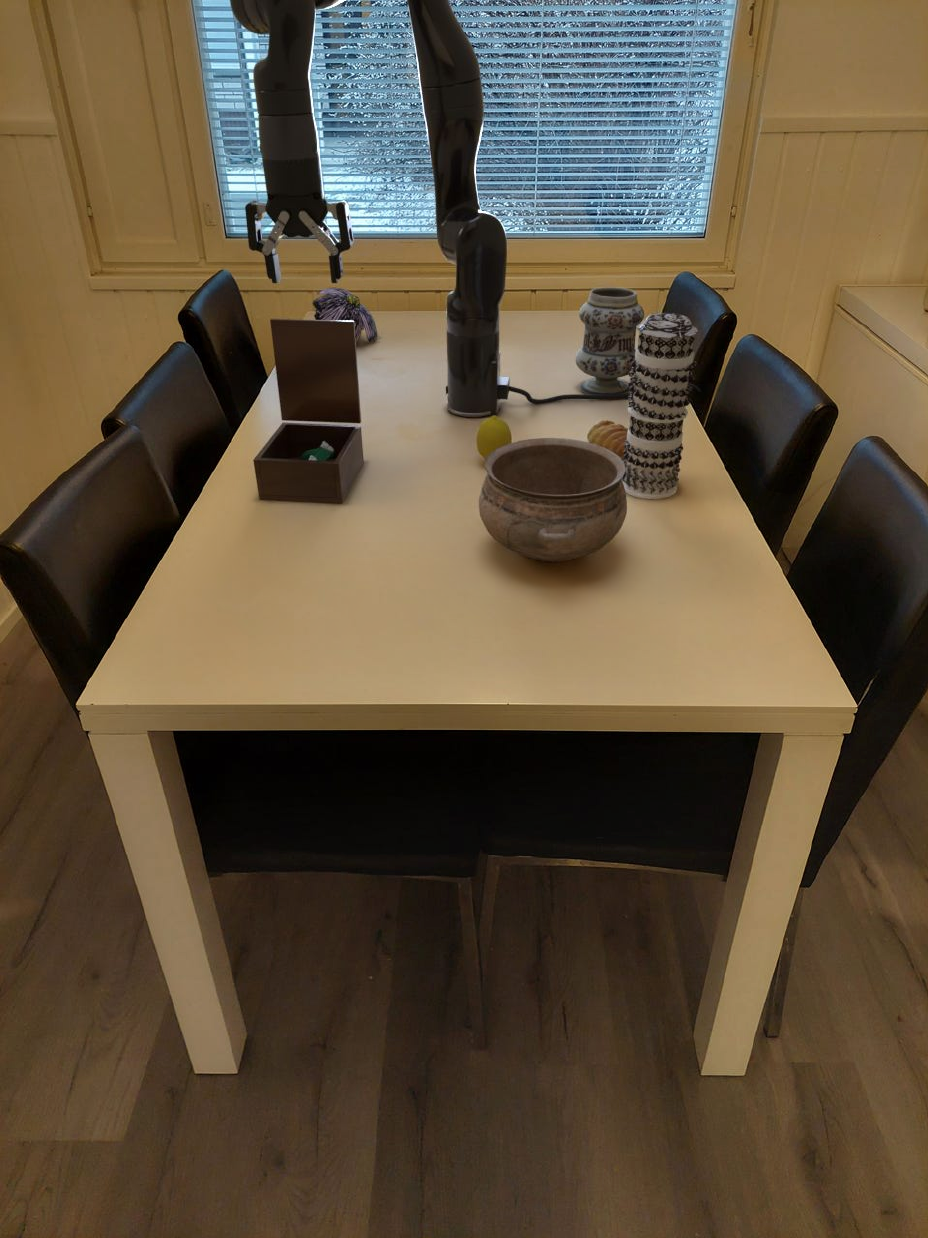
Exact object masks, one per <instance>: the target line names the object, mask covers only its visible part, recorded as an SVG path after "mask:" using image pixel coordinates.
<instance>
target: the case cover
mask: <svg viewBox="0 0 928 1238" xmlns="http://www.w3.org/2000/svg"><path fill="white" fill-rule="evenodd" d="M269 323H270V331H271V339H272V348H273V355H274V357H273V358H274V365H275V373H276V382H277V392H278V398H279V399H278V400H279V408H280V417H281V421H284V422H285V421H287V422H310V423H312V422H313V423H335V424H337V423H338V424H361V423H362V413H361V399H360V398H361V397H360V384H359V383H360V382H359V369H358V355H357V354H358V353H357V343H356V337H355V323H354V321H341V320H316V319H300V318H299V319H297V318H291V319H290V318H270V320H269Z"/></svg>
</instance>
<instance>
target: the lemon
mask: <svg viewBox="0 0 928 1238" xmlns="http://www.w3.org/2000/svg"><path fill="white" fill-rule="evenodd" d="M476 432H477V433H476V439H475V440H476V441H475V442H476V449H477V451H478V454H479V455H480V456H481V457H482V458H483V459H484V460H485V461H486V458H487V457H488V456H489V454H491V453H492V452H493V451H494V450H496V449H498V448H500V447H502V446H504V445H507V444H510V443H513V442H512V441H513V437H512V431H511V427H510V426H509V424H508V423H507V421H506V420H504V419H502V417H498V416H497V415H491V417H488V418H486V419H484V420H483V421H482V422H481V423H480V424H479V427H478V429H477V431H476Z"/></svg>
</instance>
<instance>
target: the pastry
mask: <svg viewBox="0 0 928 1238" xmlns="http://www.w3.org/2000/svg"><path fill="white" fill-rule="evenodd" d="M628 429H629V427H628V428H627V427H625V426H624V425H623V424H620V423H615V422H614V421H611V420H608V419H606V420H601V421H599V422H598V423H596V424H594V425H593V426H592V427H591V428H590V430H589V432H588V433H587V442H588V443H592V444H596V445H598V446H601V447H604V448H606V449H608V450H610V451H612V452H613V453H615V454H616V455H617V456H619V457H620V459H621V460H625V458H624V454H623V452H624V451H625V450H626V448H625V444H624V442H625V441H626V440H627V432H628Z"/></svg>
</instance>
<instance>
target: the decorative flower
mask: <svg viewBox="0 0 928 1238" xmlns="http://www.w3.org/2000/svg"><path fill="white" fill-rule="evenodd" d="M316 294H317V295H321V296H319V297H317V298H315V299H314V300H313V301H312V303H311V305H312V306H313V307H314V308H315V310H314V311H315V313H314V314H313V317H314V320H341V321H354V323H355V337H356V344H357V343H358V341H359V340H360V337H361V336H362V332H363V330H364V331H365V334H366V338H367V342H368V343H369V344H370V343H371V342H372V341H373V342H375V340H377V338H378V329H377V325H376V321H375V319H374V317H373V315H372V313H371V312H370V310H369V309H368V308H367V307H365V306H364V305H363V304H362V303H361V301H360V298H359V297H358V296H357V295H355V294H353V293H352V292H350V291H348V290H347V289H344V288H342V287H327V288H323V289H321V290H319V291H318V292H316Z"/></svg>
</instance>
